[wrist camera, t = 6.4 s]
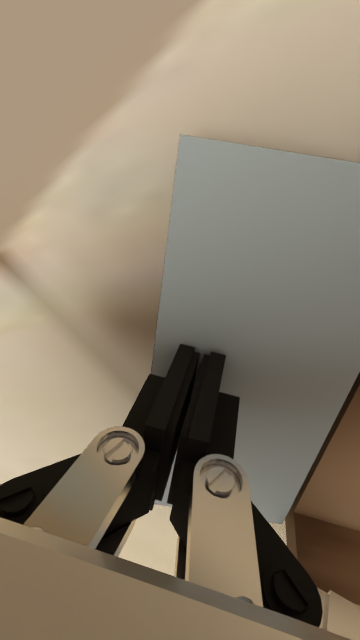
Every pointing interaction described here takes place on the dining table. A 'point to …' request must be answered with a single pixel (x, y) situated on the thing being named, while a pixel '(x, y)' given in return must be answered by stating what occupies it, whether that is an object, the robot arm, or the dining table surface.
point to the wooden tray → (332, 508)
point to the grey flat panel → (266, 298)
